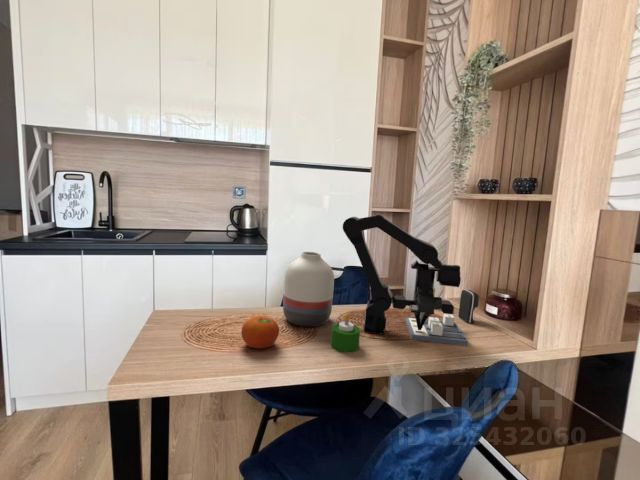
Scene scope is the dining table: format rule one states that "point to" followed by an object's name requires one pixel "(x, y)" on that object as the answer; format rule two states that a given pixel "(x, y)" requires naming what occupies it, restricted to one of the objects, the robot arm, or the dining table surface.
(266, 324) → the fruit
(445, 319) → the tab far
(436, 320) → the tab mid
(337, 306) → the dining table surface
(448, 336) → the switch bank
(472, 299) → the dark grey upright slab
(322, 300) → the vase
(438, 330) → the tab near
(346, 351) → the candle
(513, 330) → the dining table surface
